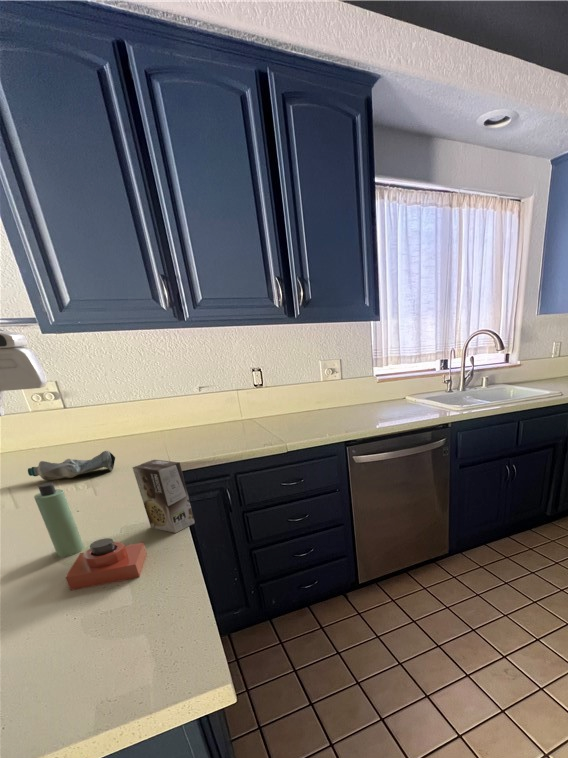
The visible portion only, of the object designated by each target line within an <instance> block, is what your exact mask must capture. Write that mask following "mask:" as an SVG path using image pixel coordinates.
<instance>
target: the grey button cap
mask: <svg viewBox="0 0 568 758" xmlns="http://www.w3.org/2000/svg"><path fill="white" fill-rule="evenodd" d="M114 542H115V541H114V540H113V538H109V537H106V538H101V539H97V540H95V541H93V542H92V543H90V545H89V547H90V548H89V549H91V551H92V553H93V555H94V556H101V555H105V554H108V553H111V552H113V551H114V550H116V547H115V544H114Z"/></svg>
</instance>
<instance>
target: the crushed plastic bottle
mask: <svg viewBox="0 0 568 758" xmlns="http://www.w3.org/2000/svg"><path fill="white" fill-rule="evenodd" d="M115 462H116V456H115V455H114V454H113V453H112V452H111V451H110V450H104V451H102V452H100V454H98V455H96V456H94V457H92V458H91V459H71V458H67V459H64V461H63V462H60V463H59V462H58V463H57V462H50V461H44V460H41V461H39V463H38V464H37V465H38V466H31V467H29V468H27V474H28V476H30V477H39V476H40V478H41V479H42V480H44V481H55V480H59V479H62V478H63V479H64V478H68V479H72V478H74V477H77V476H78V475H81V474H85V473H88V472H93V471H96V470H99V469H102V468H105V469H108V470H109V471H110V472H111V471H112V472H113V470H114V467H115Z"/></svg>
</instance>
